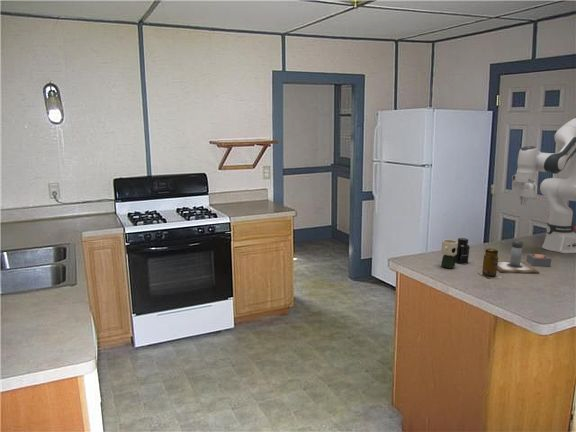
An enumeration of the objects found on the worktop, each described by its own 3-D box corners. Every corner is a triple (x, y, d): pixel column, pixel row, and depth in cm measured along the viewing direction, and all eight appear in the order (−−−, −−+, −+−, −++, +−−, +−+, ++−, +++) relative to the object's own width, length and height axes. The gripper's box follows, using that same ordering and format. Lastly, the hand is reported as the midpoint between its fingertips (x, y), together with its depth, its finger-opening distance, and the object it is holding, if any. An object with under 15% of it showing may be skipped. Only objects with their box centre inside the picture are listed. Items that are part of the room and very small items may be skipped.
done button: (541, 259, 239) (541, 254, 239) (545, 261, 235) (545, 256, 235) (532, 259, 240) (532, 254, 239) (536, 261, 235) (536, 256, 235)
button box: (542, 261, 241) (543, 254, 241) (550, 266, 234) (551, 258, 233) (526, 261, 242) (527, 253, 241) (533, 266, 234) (534, 258, 233)
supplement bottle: (463, 265, 234) (465, 241, 232) (450, 261, 239) (452, 238, 237) (470, 262, 239) (473, 239, 236) (458, 259, 244) (460, 236, 241)
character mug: (450, 271, 224) (452, 244, 222) (436, 268, 229) (438, 241, 226) (459, 266, 232) (461, 240, 230) (445, 263, 237) (447, 237, 234)
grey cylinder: (517, 264, 232) (520, 240, 230) (521, 267, 228) (524, 242, 226) (508, 264, 232) (510, 240, 230) (512, 266, 228) (514, 242, 226)
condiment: (491, 272, 224) (493, 247, 222) (503, 277, 216) (506, 252, 214) (477, 273, 222) (479, 248, 220) (489, 279, 214) (491, 253, 212)
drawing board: (523, 263, 238) (524, 261, 238) (539, 273, 222) (539, 271, 222) (487, 262, 239) (487, 260, 238) (499, 272, 223) (500, 270, 223)
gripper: (541, 181, 235) (539, 208, 238) (522, 175, 255) (520, 201, 258) (529, 181, 235) (526, 208, 238) (510, 175, 255) (508, 201, 258)
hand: (522, 204), depth 248 cm, fingers closed
